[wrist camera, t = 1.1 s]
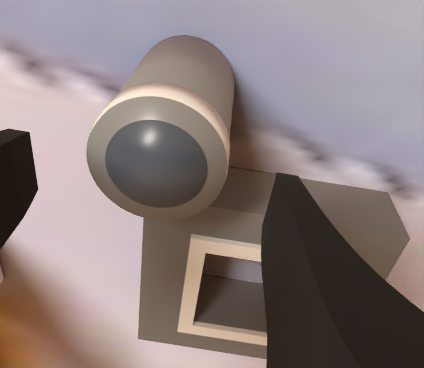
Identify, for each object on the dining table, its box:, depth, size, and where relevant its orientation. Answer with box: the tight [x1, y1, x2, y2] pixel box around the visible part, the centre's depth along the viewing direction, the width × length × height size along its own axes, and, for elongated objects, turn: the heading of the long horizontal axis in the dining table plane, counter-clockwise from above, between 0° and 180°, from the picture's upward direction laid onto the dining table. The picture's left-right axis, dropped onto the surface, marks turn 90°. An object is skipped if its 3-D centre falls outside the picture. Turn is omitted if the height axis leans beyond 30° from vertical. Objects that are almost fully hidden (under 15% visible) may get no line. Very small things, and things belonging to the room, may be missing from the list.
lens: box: [87, 35, 235, 220], centre depth 15 cm, size 4×4×7 cm
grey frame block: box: [138, 167, 410, 359], centre depth 22 cm, size 12×11×4 cm
